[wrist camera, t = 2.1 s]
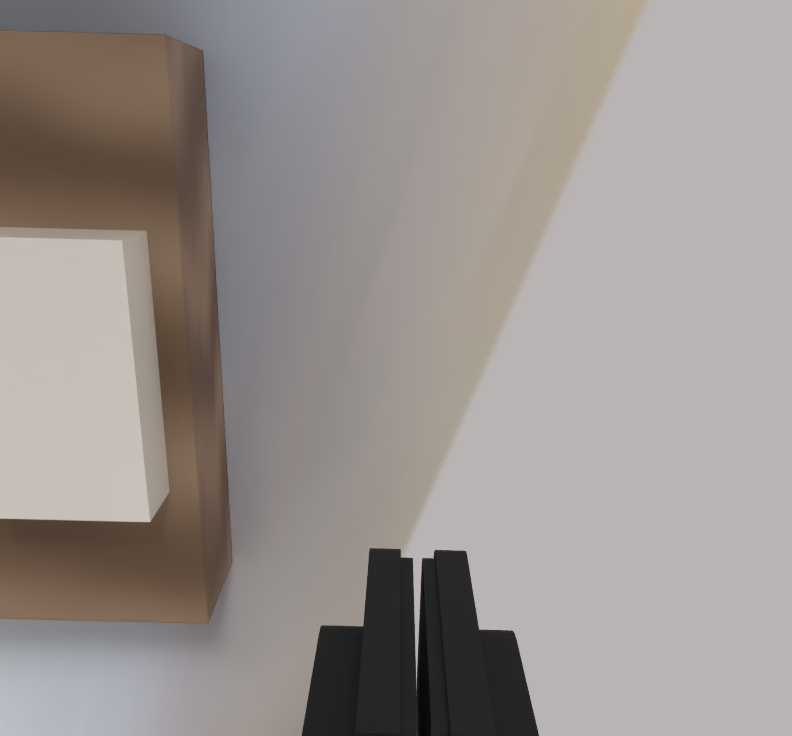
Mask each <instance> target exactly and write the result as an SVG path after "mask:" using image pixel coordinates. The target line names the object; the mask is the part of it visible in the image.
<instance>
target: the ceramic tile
mask: <svg viewBox="0 0 792 736" xmlns="http://www.w3.org/2000/svg"><path fill="white" fill-rule="evenodd" d="M169 492H170V490H169V479H168V468H167V456H166V445H165V434H164V422H163V411H162V400H161V388H160V377H159V366H158V354H157V343H156V332H155V320H154V309H153V298H152V286H151V275H150V263H149V252H148V241H147V231H132V230H94V229H56V228H19V227H0V519H37V520H79V521H120V522H151V520H152V519H153V517H154V515H155V514H156V512H157V511H158V509H159V508H160V506H161V505H162V503H163V501H164V500H165V498H166V497H167V495H168V494H169Z"/></svg>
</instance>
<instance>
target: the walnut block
mask: <svg viewBox="0 0 792 736" xmlns="http://www.w3.org/2000/svg"><path fill="white" fill-rule="evenodd" d="M0 227H19V228H56V229H94V230H132V231H147V241H148V252H149V263H150V275H151V286H152V298H153V309H154V320H155V332H156V343H157V354H158V366H159V377H160V388H161V400H162V411H163V422H164V434H165V445H166V456H167V468H168V479H169V490H170V492H169V494H168V495H167V497H166V498H165V500H164V501H163V503H162V505H161V506H160V508H159V509H158V511H157V512H156V514H155V515H154V517H153V519H152V520H151V522H120V521H79V520H37V519H0V619H42V620H85V621H127V622H170V623H208V622H209V619H210V617H211V614H212V612H213V609H214V606H215V604H216V601H217V599H218V596H219V594H220V591H221V588H222V586H223V583H224V581H225V578H226V576H227V573H228V570H229V568H230V565H231V563H232V549H231V532H230V515H229V497H228V480H227V463H226V445H225V428H224V411H223V393H222V376H221V359H220V342H219V324H218V307H217V290H216V272H215V255H214V238H213V220H212V203H211V186H210V169H209V151H208V134H207V117H206V99H205V82H204V65H203V51H202V50H200V49H197V48H195V47H193V46H190V45H188V44H186V43H183V42H181V41H179V40H176V39H174V38H172V37H169V36H167V35H160V34H124V33H89V32H53V31H18V30H0Z"/></svg>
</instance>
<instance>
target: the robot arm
mask: <svg viewBox="0 0 792 736" xmlns="http://www.w3.org/2000/svg"><path fill="white" fill-rule="evenodd" d="M302 736H539V734H538V730H537V726H536V721H535V717H534V713H533V708H532V704H531V700H530V695H529V691H528V687H527V683H526V678H525V674H524V670H523V666H522V661H521V657H520V653H519V648H518V644H517V640H516V637H515V634H514V632H513V631H507V630H506V631H505V630H504V631H503V630H479V627H478V621H477V615H476V608H475V602H474V597H473V590H472V584H471V577H470V571H469V565H468V559H467V553H466V551H451V550H450V551H449V550H435V551H434V559H432V558H430V559H429V558H423V559H422V574H421V598H420V622H419V644H418V667H417V698H416V661H415V624H414V588H413V558H401V549H376V548H370V551H369V563H368V576H367V588H366V601H365V613H364V626H363V627H359V626H321V628H320V632H319V638H318V644H317V649H316V655H315V661H314V667H313V673H312V679H311V685H310V691H309V696H308V702H307V708H306V714H305V720H304V726H303V732H302Z"/></svg>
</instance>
